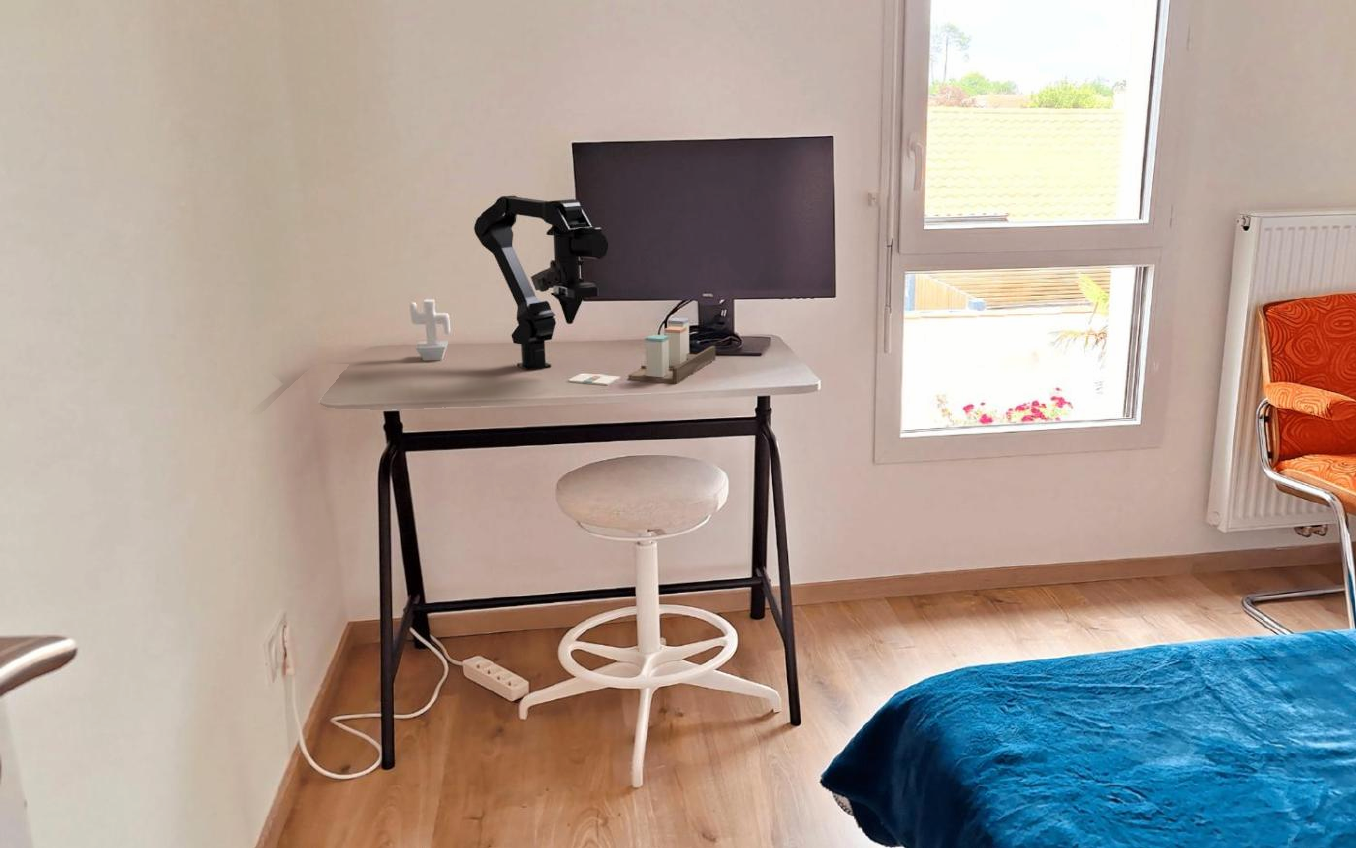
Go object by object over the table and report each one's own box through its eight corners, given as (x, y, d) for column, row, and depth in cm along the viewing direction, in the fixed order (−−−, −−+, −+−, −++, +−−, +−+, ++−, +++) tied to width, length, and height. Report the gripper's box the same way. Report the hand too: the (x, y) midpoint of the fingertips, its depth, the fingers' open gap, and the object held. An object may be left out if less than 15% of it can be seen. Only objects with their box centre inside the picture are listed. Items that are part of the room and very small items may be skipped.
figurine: (450, 361, 245) (446, 301, 241) (412, 362, 244) (407, 302, 240) (454, 355, 252) (449, 296, 248) (416, 356, 251) (411, 297, 247)
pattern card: (567, 381, 223) (567, 379, 223) (582, 374, 230) (582, 372, 230) (607, 385, 220) (607, 382, 220) (620, 378, 226) (620, 375, 226)
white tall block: (646, 375, 224) (645, 337, 221) (653, 372, 227) (652, 334, 225) (662, 377, 222) (662, 339, 220) (669, 373, 226) (668, 335, 223)
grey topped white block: (668, 355, 244) (668, 320, 242) (674, 352, 248) (674, 317, 245) (683, 356, 243) (683, 321, 240) (689, 353, 246) (688, 318, 244)
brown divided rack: (628, 379, 225) (628, 364, 224) (670, 356, 249) (670, 342, 248) (676, 383, 221) (676, 368, 220) (715, 359, 244) (715, 346, 243)
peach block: (664, 365, 233) (664, 329, 231) (670, 362, 237) (670, 326, 234) (680, 366, 232) (680, 330, 229) (686, 363, 235) (686, 327, 233)
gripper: (517, 254, 226) (520, 321, 231) (553, 262, 211) (556, 333, 216) (560, 251, 232) (563, 316, 237) (598, 258, 217) (600, 328, 222)
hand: (569, 323), depth 228 cm, fingers closed
